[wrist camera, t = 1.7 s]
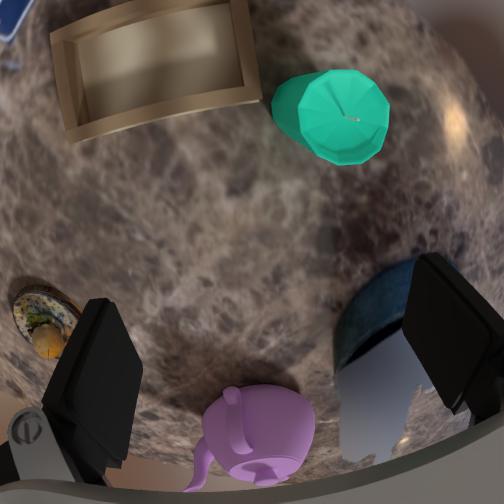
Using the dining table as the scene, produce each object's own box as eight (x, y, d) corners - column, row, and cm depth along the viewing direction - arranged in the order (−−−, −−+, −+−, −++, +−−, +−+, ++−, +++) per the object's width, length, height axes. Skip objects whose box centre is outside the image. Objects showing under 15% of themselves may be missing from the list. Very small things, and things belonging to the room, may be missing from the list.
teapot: (147, 391, 42) (136, 472, 30) (284, 348, 39) (305, 440, 27) (215, 448, 52) (218, 509, 40) (323, 418, 50) (341, 483, 38)
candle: (308, 152, 28) (360, 193, 17) (256, 112, 25) (281, 125, 15) (347, 105, 26) (421, 120, 15) (298, 62, 23) (351, 44, 13)
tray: (87, 140, 25) (69, 148, 21) (68, 35, 19) (49, 30, 16) (257, 101, 25) (263, 102, 22) (240, -10, 20) (243, -25, 16)
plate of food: (9, 277, 31) (-19, 312, 24) (84, 290, 33) (62, 333, 26) (29, 343, 36) (11, 379, 30) (97, 358, 38) (84, 400, 32)
